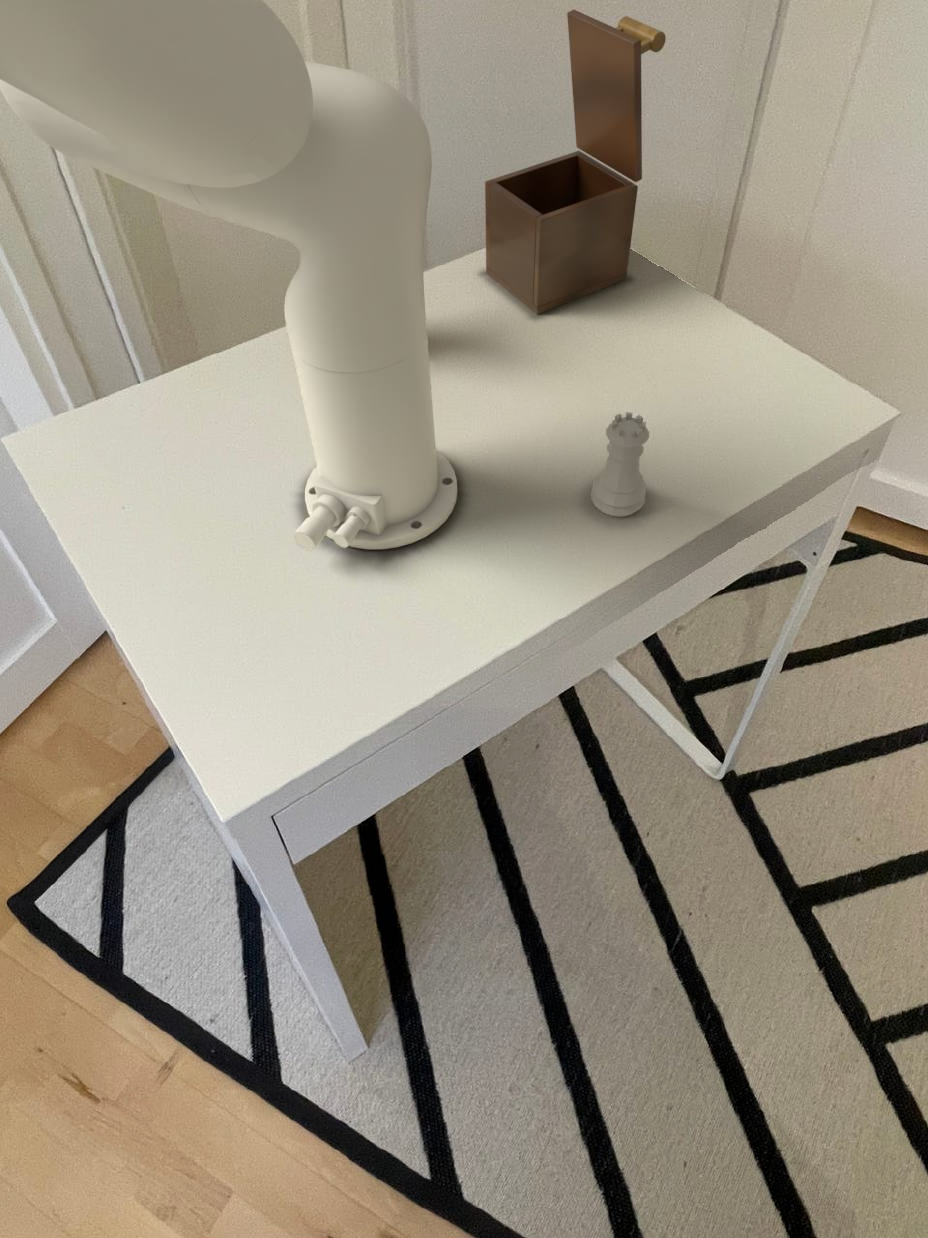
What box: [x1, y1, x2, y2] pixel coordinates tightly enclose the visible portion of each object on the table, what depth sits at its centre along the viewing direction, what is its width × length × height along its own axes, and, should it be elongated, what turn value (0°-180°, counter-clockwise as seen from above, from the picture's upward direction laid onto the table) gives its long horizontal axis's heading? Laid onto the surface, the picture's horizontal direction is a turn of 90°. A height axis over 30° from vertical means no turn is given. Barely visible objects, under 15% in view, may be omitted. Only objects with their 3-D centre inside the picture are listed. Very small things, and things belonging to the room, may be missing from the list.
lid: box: [566, 9, 667, 183], centre depth 81 cm, size 12×10×5 cm
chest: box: [484, 150, 639, 315], centre depth 88 cm, size 12×10×10 cm
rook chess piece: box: [590, 411, 650, 518], centre depth 67 cm, size 4×4×8 cm
